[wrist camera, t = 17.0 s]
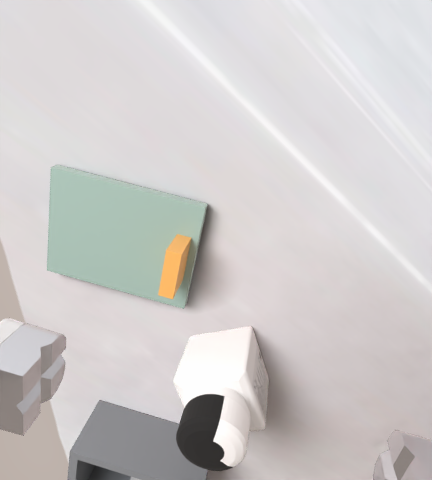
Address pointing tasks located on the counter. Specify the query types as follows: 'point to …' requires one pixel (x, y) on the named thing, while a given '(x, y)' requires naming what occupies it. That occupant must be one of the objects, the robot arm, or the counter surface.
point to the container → (220, 397)
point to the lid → (123, 235)
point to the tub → (129, 448)
